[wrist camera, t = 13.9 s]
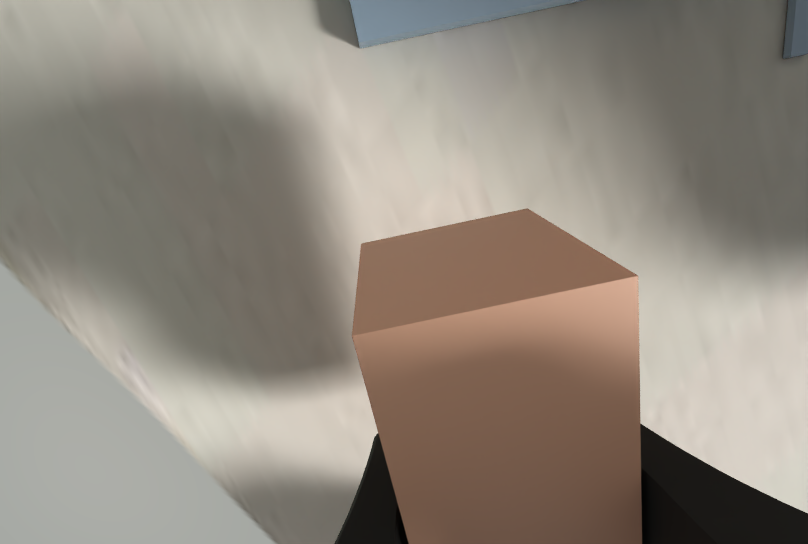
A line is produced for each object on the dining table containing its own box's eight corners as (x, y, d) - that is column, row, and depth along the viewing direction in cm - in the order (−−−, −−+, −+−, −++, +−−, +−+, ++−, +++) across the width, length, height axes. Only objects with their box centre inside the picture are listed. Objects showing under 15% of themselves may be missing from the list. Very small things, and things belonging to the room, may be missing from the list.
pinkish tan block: (527, 208, 10) (638, 275, 6) (559, 517, 14) (644, 701, 9) (361, 243, 10) (352, 336, 6) (434, 543, 14) (461, 739, 9)
